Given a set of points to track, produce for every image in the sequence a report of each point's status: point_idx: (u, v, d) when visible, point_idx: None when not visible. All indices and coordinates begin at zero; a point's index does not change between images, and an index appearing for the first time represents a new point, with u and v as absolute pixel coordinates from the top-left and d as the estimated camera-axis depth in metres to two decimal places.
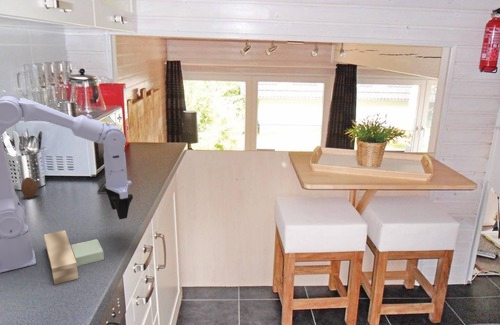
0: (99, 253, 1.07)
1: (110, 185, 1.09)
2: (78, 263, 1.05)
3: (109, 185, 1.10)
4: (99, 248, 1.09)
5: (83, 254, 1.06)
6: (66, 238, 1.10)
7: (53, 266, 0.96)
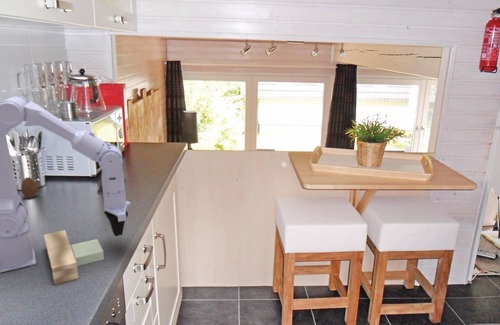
0: (99, 253, 1.07)
1: (108, 207, 1.07)
2: (78, 263, 1.05)
3: (107, 207, 1.07)
4: (99, 248, 1.09)
5: (83, 254, 1.06)
6: (66, 238, 1.10)
7: (53, 266, 0.96)
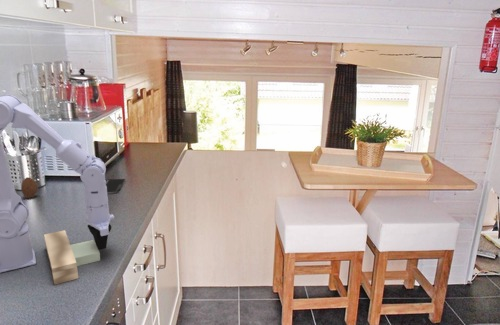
0: (95, 254, 1.07)
1: (91, 221, 1.06)
2: None
3: (90, 221, 1.06)
4: (95, 249, 1.08)
5: (79, 255, 1.05)
6: (66, 238, 1.10)
7: (53, 266, 0.96)
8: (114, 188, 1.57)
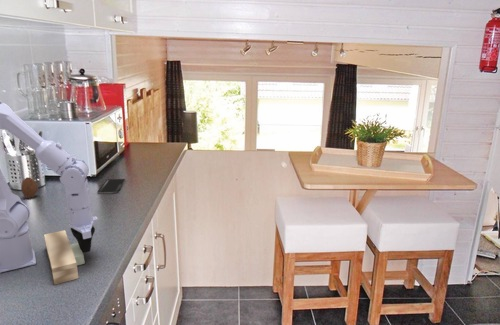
0: (79, 257, 1.04)
1: (73, 223, 1.03)
2: None
3: (72, 223, 1.04)
4: (79, 252, 1.06)
5: None
6: (66, 238, 1.10)
7: (53, 266, 0.96)
8: (114, 188, 1.57)
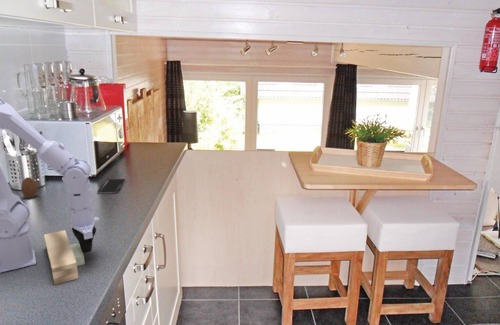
0: (79, 258, 1.04)
1: (75, 224, 1.04)
2: None
3: (74, 224, 1.04)
4: (80, 252, 1.06)
5: None
6: (66, 238, 1.10)
7: (53, 266, 0.96)
8: (114, 188, 1.57)
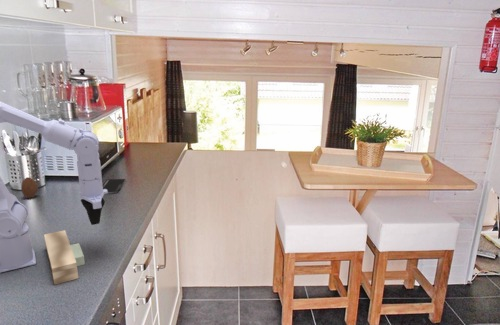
0: (79, 258, 1.05)
1: (84, 194, 1.05)
2: None
3: (83, 194, 1.05)
4: (80, 253, 1.06)
5: None
6: (66, 238, 1.10)
7: (53, 266, 0.96)
8: (114, 188, 1.57)
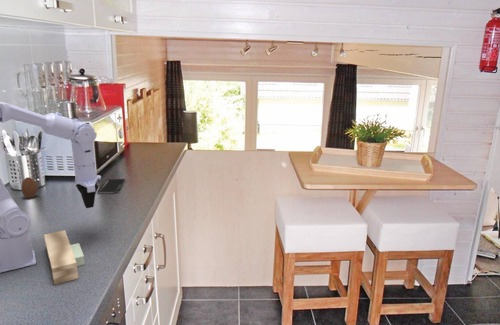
0: (79, 258, 1.05)
1: (79, 179, 1.13)
2: None
3: (78, 179, 1.13)
4: (80, 253, 1.06)
5: None
6: (66, 238, 1.10)
7: (53, 266, 0.96)
8: (114, 188, 1.57)
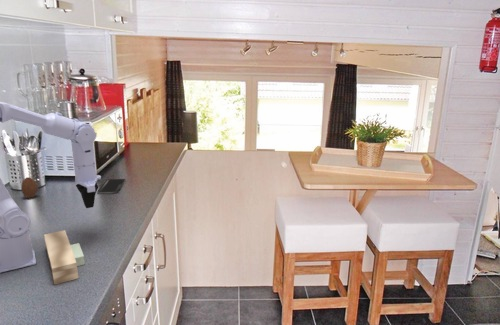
0: (79, 258, 1.05)
1: (79, 179, 1.13)
2: None
3: (78, 179, 1.13)
4: (80, 253, 1.06)
5: None
6: (66, 238, 1.10)
7: (53, 266, 0.96)
8: (114, 188, 1.57)
